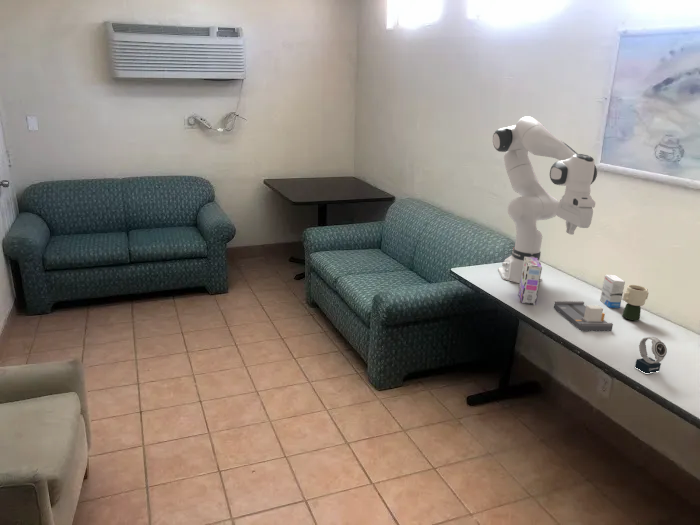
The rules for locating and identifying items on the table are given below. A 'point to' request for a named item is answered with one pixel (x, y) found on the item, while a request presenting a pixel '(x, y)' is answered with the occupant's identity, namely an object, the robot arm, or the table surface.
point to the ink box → (612, 291)
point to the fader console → (580, 316)
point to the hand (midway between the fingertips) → (569, 233)
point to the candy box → (530, 280)
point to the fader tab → (593, 314)
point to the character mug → (634, 301)
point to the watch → (646, 362)
